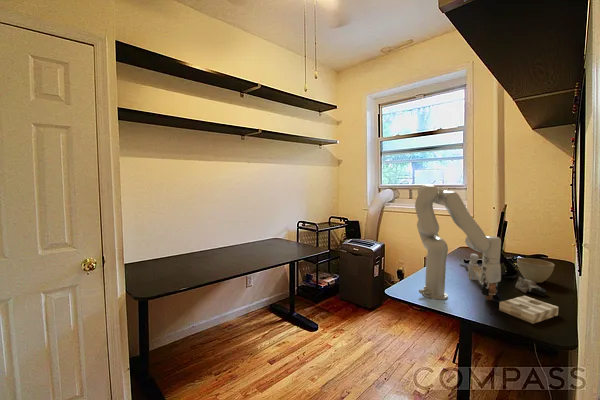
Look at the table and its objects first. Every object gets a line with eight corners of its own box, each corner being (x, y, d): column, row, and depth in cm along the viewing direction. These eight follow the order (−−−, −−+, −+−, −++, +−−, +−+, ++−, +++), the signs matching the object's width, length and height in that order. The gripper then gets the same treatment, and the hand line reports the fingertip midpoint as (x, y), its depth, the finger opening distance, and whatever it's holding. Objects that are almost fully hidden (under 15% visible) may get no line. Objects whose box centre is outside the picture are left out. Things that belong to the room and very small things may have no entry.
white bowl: (549, 287, 166) (551, 267, 165) (512, 279, 180) (513, 260, 179) (555, 281, 177) (557, 262, 176) (520, 273, 191) (521, 256, 190)
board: (532, 323, 123) (533, 314, 123) (499, 310, 136) (499, 302, 135) (557, 315, 131) (558, 306, 131) (523, 303, 144) (524, 295, 143)
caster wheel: (547, 299, 155) (532, 298, 153) (528, 288, 165) (514, 286, 163) (552, 289, 153) (537, 287, 151) (532, 278, 164) (518, 276, 162)
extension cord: (528, 267, 208) (528, 264, 208) (523, 271, 197) (523, 269, 197) (507, 263, 217) (508, 261, 217) (502, 267, 207) (502, 264, 206)
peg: (490, 302, 144) (491, 285, 144) (480, 298, 149) (481, 281, 149) (497, 300, 147) (498, 283, 146) (486, 296, 152) (487, 280, 151)
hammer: (499, 279, 150) (477, 253, 179) (490, 279, 151) (469, 253, 179) (495, 304, 155) (473, 275, 183) (485, 304, 156) (466, 274, 184)
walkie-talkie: (491, 273, 192) (460, 266, 208) (491, 267, 192) (460, 260, 208) (485, 276, 187) (454, 268, 203) (485, 269, 187) (454, 262, 203)
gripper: (487, 263, 140) (485, 299, 141) (509, 260, 147) (506, 294, 148) (473, 260, 147) (471, 294, 148) (494, 256, 153) (492, 289, 155)
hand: (489, 293), depth 148 cm, fingers closed on peg, 5 cm apart
